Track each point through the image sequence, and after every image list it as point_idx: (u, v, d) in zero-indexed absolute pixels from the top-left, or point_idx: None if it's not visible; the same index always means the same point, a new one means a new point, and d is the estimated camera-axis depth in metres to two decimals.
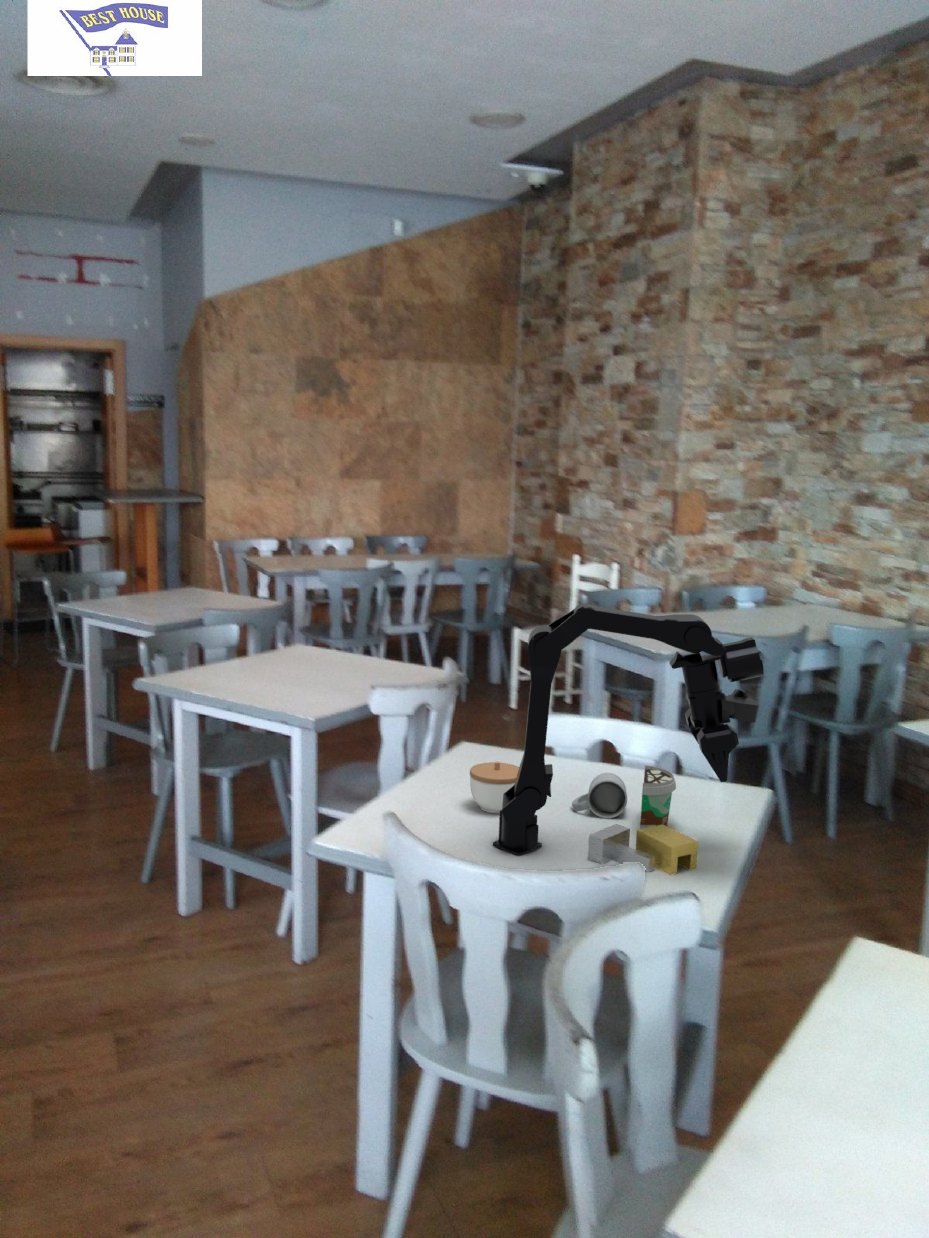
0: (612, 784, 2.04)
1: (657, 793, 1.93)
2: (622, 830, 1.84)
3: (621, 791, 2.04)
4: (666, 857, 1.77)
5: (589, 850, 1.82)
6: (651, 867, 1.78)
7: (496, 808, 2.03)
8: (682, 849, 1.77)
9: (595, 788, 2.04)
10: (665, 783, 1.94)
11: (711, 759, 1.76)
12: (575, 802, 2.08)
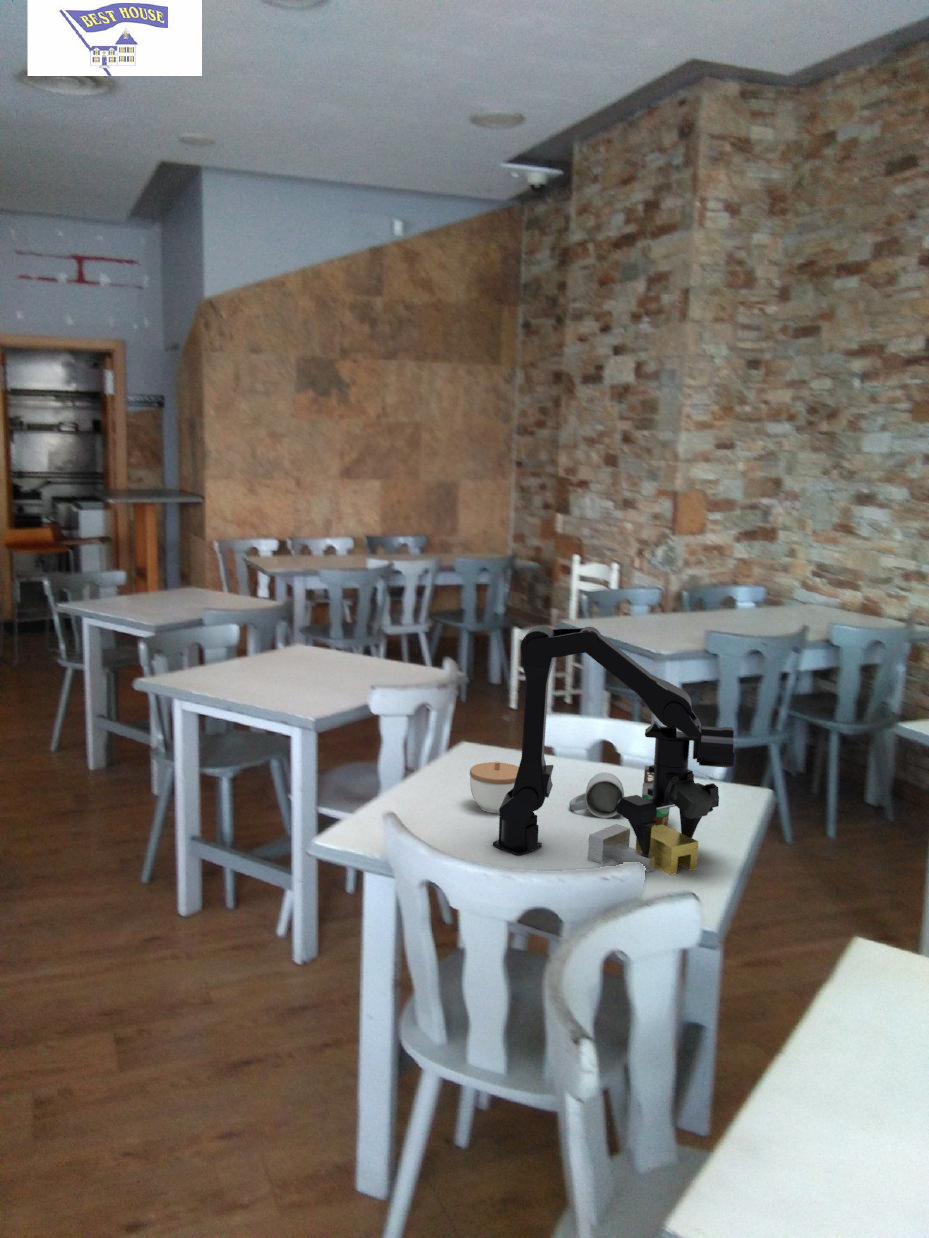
0: (609, 784, 2.04)
1: None
2: (622, 830, 1.84)
3: (618, 791, 2.04)
4: (666, 857, 1.77)
5: (589, 850, 1.82)
6: (651, 867, 1.78)
7: (496, 808, 2.03)
8: (682, 849, 1.77)
9: (592, 788, 2.04)
10: None
11: (633, 826, 1.79)
12: (572, 802, 2.08)
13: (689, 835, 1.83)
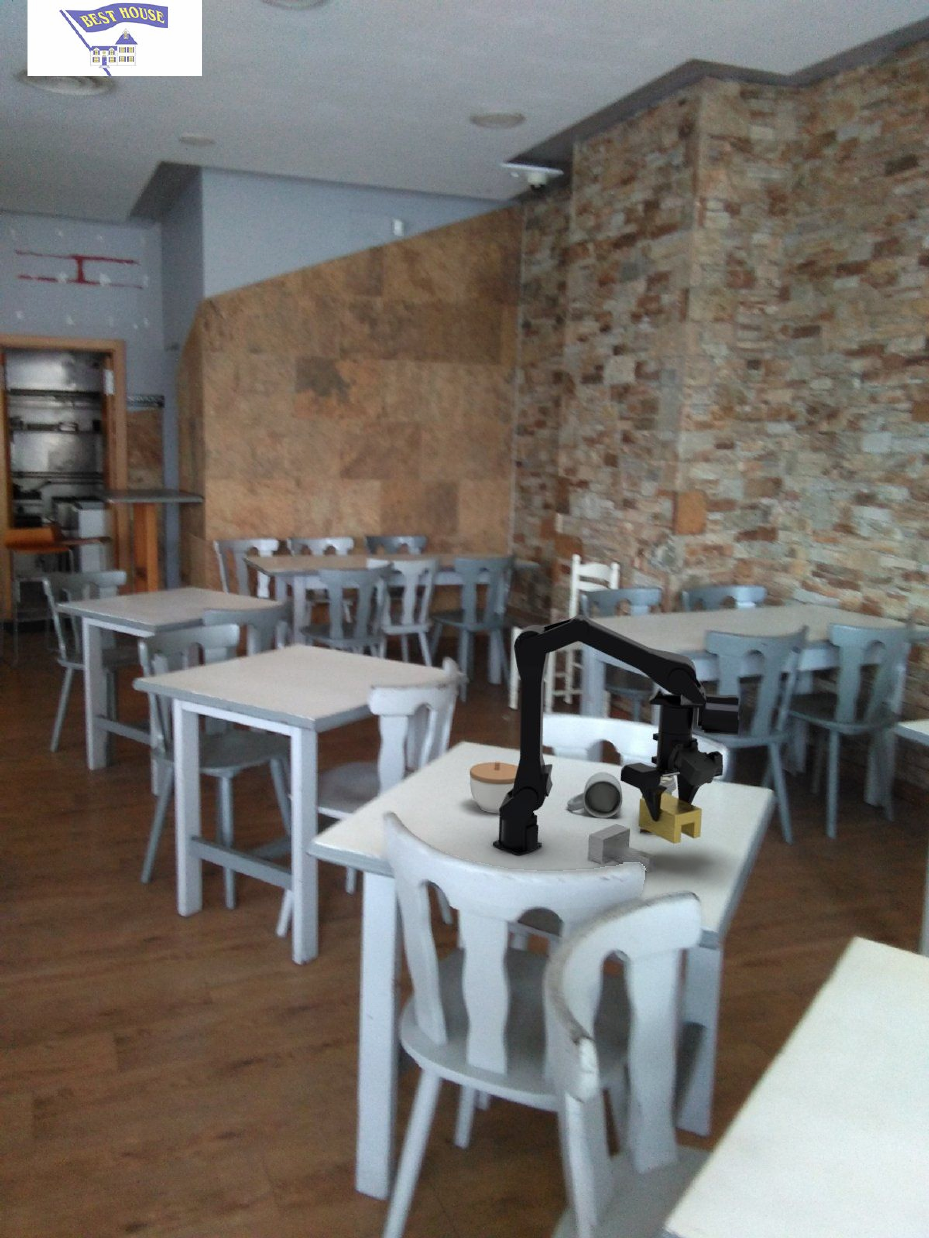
0: (607, 784, 2.04)
1: None
2: (622, 830, 1.84)
3: (616, 791, 2.04)
4: (669, 825, 1.76)
5: (589, 850, 1.82)
6: (651, 867, 1.78)
7: (496, 808, 2.03)
8: (685, 817, 1.76)
9: (590, 788, 2.04)
10: (665, 783, 1.94)
11: (643, 792, 1.79)
12: (570, 802, 2.08)
13: None
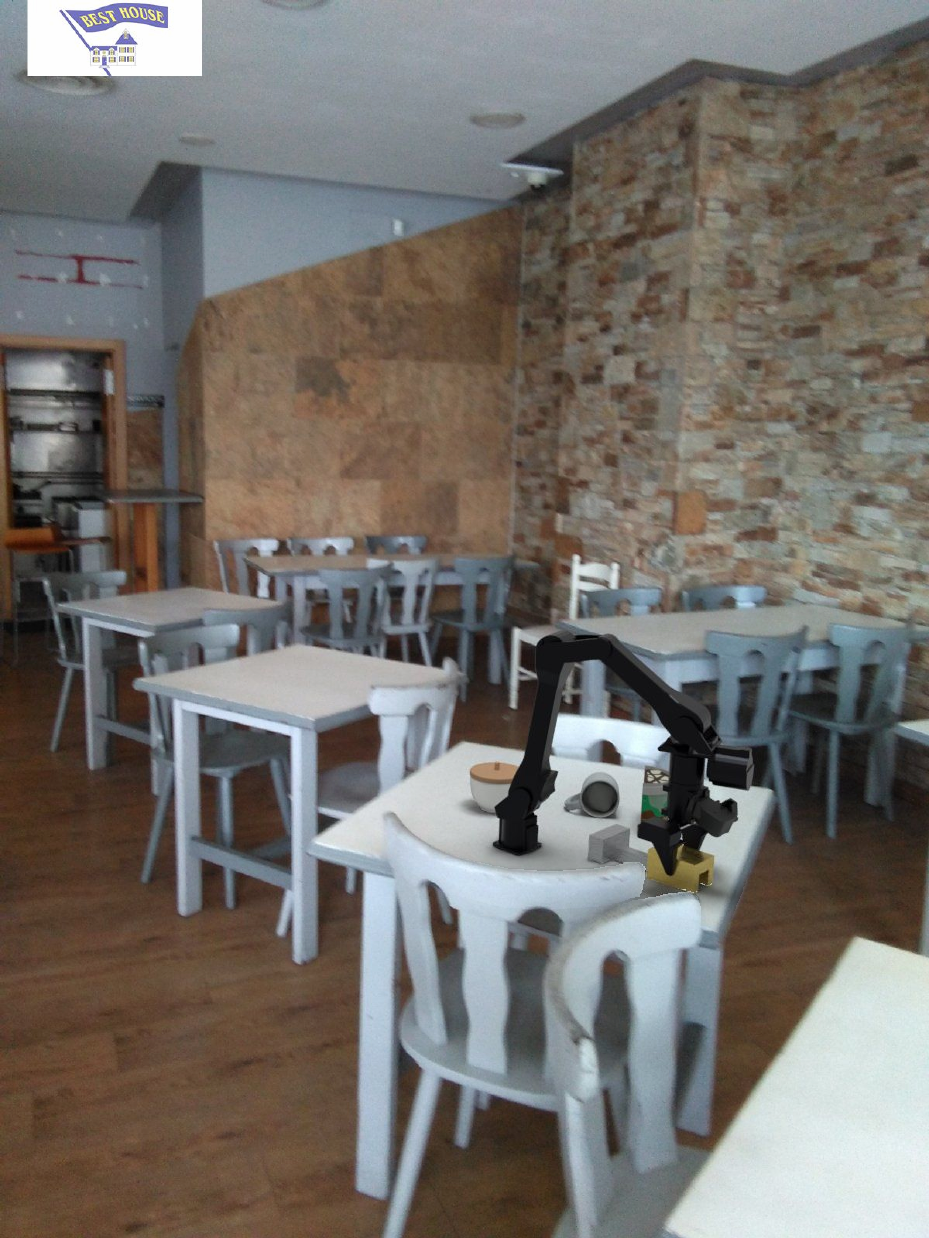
0: (604, 783, 2.04)
1: (657, 793, 1.93)
2: (622, 830, 1.84)
3: (613, 790, 2.04)
4: (687, 876, 1.70)
5: (589, 850, 1.82)
6: None
7: None
8: (702, 866, 1.70)
9: (588, 787, 2.05)
10: (665, 783, 1.94)
11: (657, 847, 1.71)
12: (568, 801, 2.08)
13: None
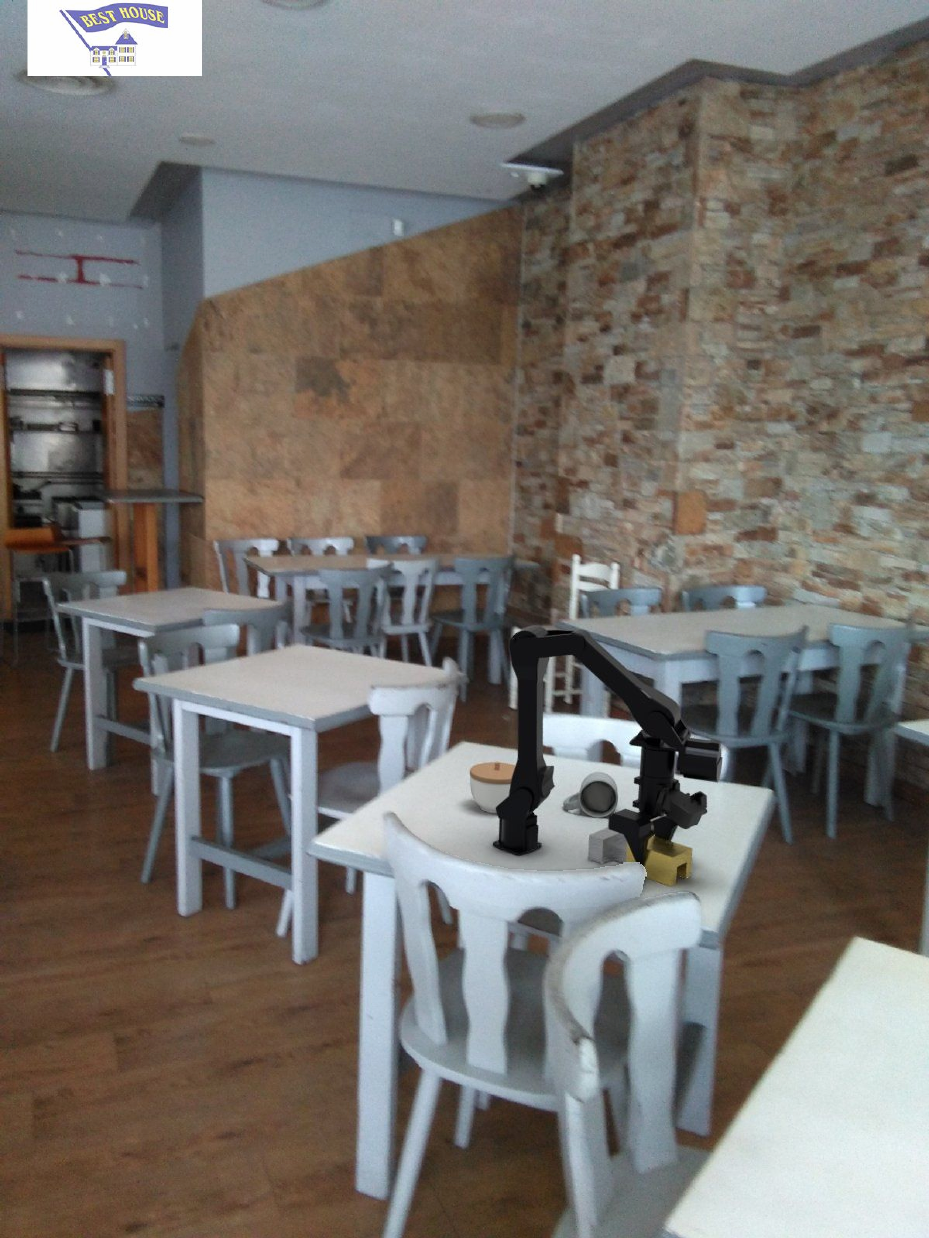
0: (603, 783, 2.04)
1: None
2: None
3: (612, 790, 2.04)
4: (665, 868, 1.73)
5: (589, 850, 1.82)
6: None
7: None
8: (680, 858, 1.73)
9: (586, 787, 2.05)
10: None
11: (628, 838, 1.75)
12: (566, 801, 2.08)
13: None
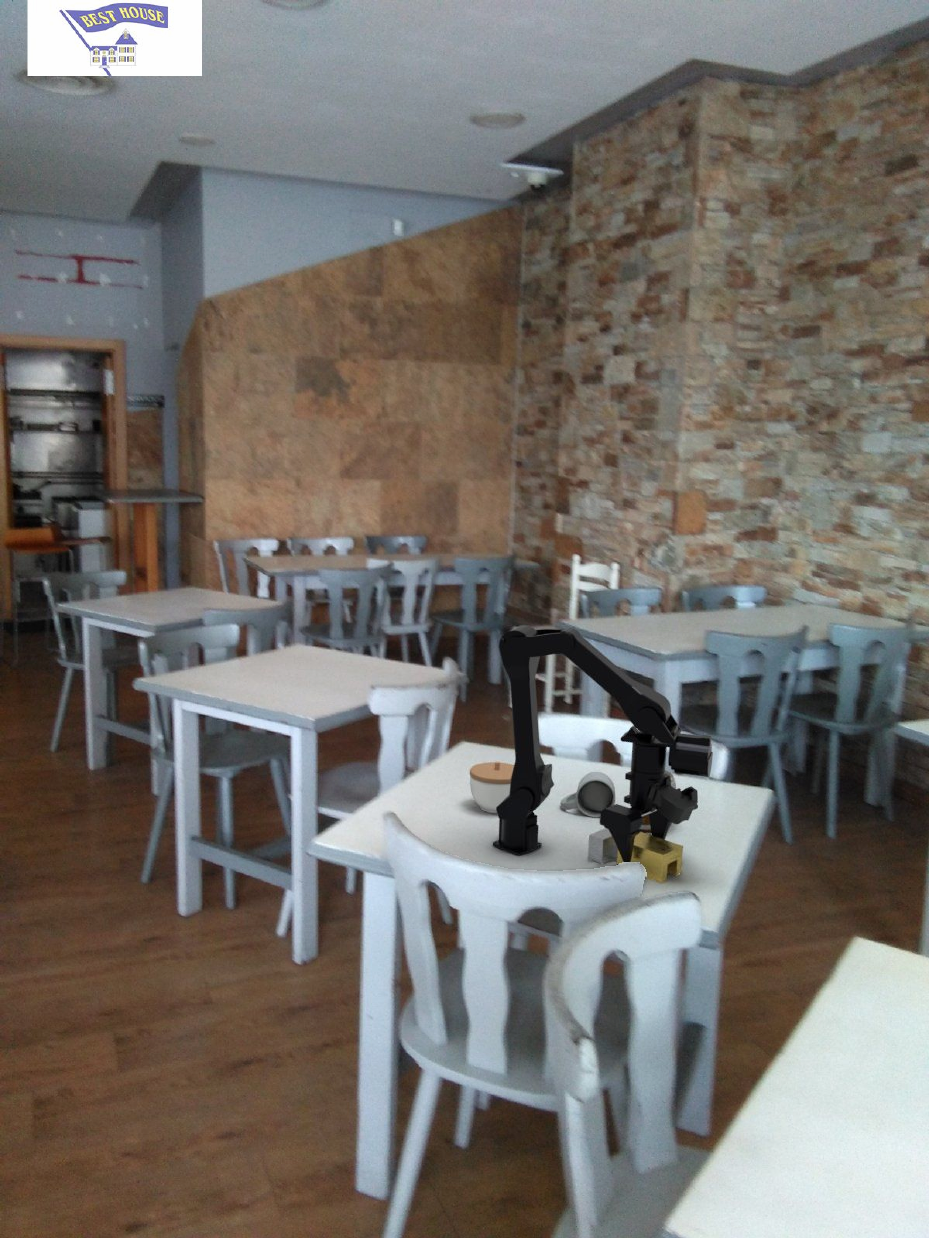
0: (600, 783, 2.04)
1: None
2: None
3: (609, 790, 2.04)
4: (656, 865, 1.74)
5: (589, 850, 1.82)
6: None
7: None
8: (670, 856, 1.75)
9: (583, 787, 2.05)
10: None
11: (615, 836, 1.75)
12: (564, 801, 2.08)
13: None
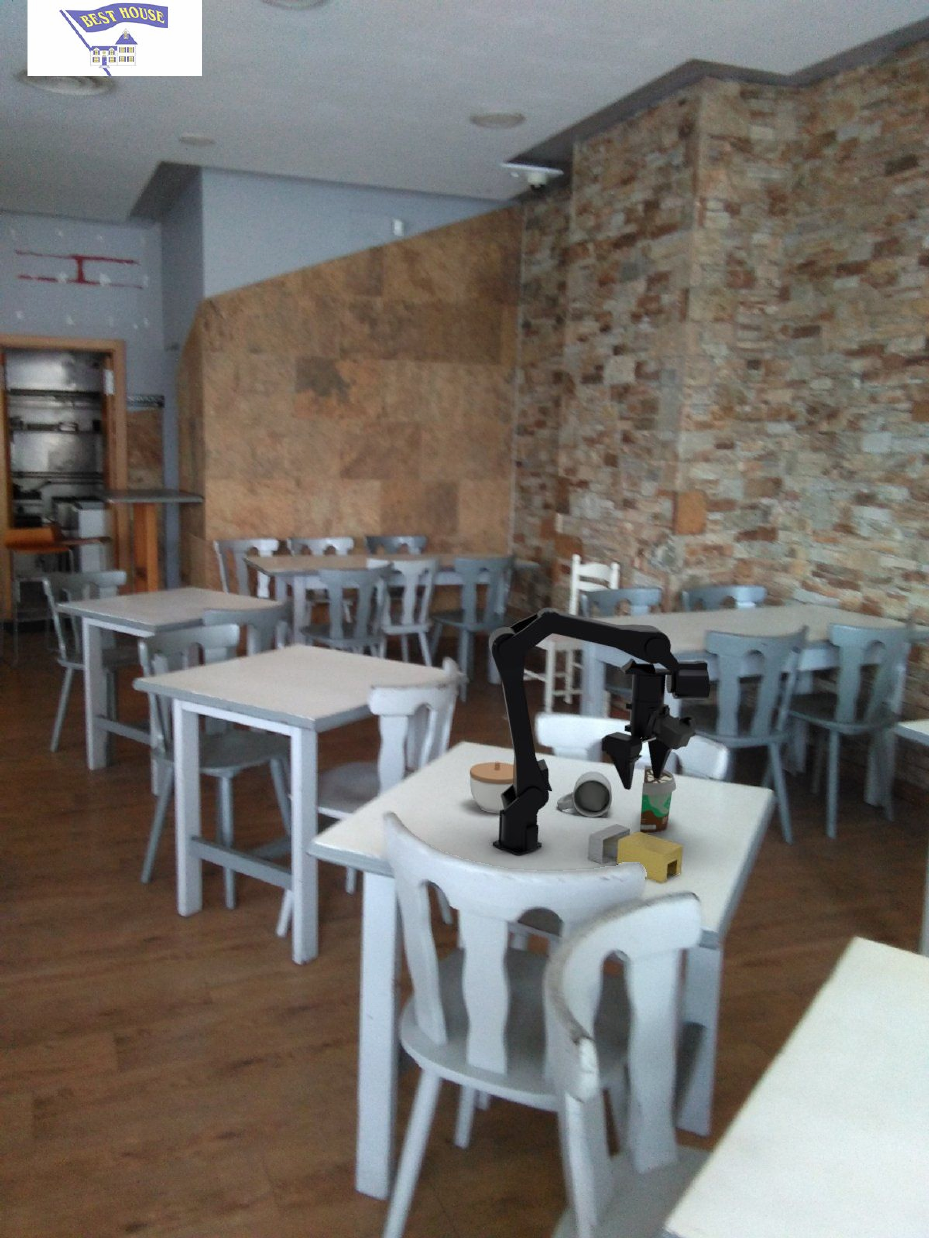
0: (597, 783, 2.04)
1: (657, 793, 1.93)
2: (622, 830, 1.84)
3: (606, 790, 2.04)
4: (656, 865, 1.74)
5: (589, 850, 1.82)
6: None
7: (496, 808, 2.03)
8: (670, 856, 1.75)
9: (580, 787, 2.05)
10: (665, 783, 1.94)
11: (616, 762, 1.82)
12: (560, 801, 2.08)
13: (661, 768, 1.89)
